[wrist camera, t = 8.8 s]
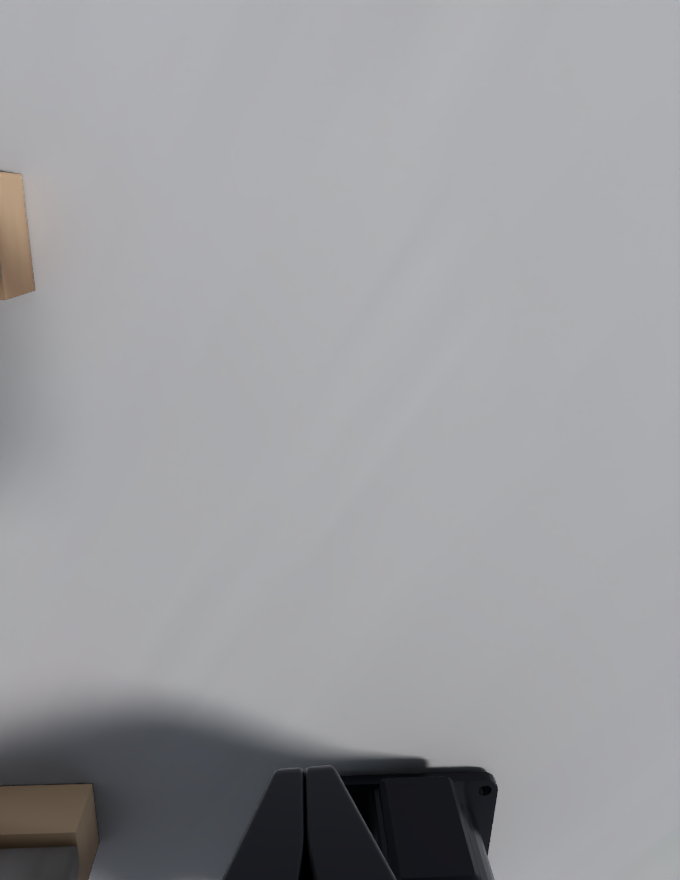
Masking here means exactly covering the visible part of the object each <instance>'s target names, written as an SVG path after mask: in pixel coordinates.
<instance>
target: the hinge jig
mask: <svg viewBox="0 0 680 880" xmlns="http://www.w3.org/2000/svg"><path fill="white" fill-rule="evenodd" d="M32 291H35V285H34V276H33V268H32V259H31V250H30V242H29V233H28V224H27V216H26V207H25V199H24V190H23V181H22V174H14V173H6V172H0V300H7V299H10V298H13V297H16V296H19V295H22V294H25V293H28V292H32ZM98 846H99V836H98V827H97V819H96V810H95V802H94V793H93V784H64V785H28V786H0V880H88V879H89V875H90V872H91V869H92V865H93V862H94V859H95V856H96V852H97V849H98Z"/></svg>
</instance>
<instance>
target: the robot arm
mask: <svg viewBox="0 0 680 880" xmlns="http://www.w3.org/2000/svg"><path fill="white" fill-rule="evenodd" d="M482 786H484V787H482ZM497 792H498V788H497V784H496V781H495V778H494V777H493V775H492V774H490V773H486V772H470V773H434V774H398V775H362V776H339V774H338V772H337V771H336V769H335V768H334V767H333V766H331V765H323V766H310V767H307V768H306V770H305V776H304V770H303V769H302V768H300V767H295V768H281V769H277V770H275V771H274V773H273V774H272V776H271V778H270V780H269V782H268V785H267V787H266V789H265V791H264V793H263V795H262V797H261V799H260V801H259V803H258V805H257V808H256V810H255V812H254V814H253V816H252V818H251V820H250V822H249V824H248V826H247V828H246V831H245V833H244V835H243V837H242V839H241V841H240V843H239V845H238V847H237V849H236V851H235V854H234V856H233V858H232V860H231V862H230V864H229V866H228V868H227V870H226V872H225V874H224V877H223V879H222V880H494V877H493V873H492V870H491V867H490V863H489V860H488V857H487V856H488V849H489V843H490V837H491V830H492V824H493V818H494V811H495V805H496V798H497Z"/></svg>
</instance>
